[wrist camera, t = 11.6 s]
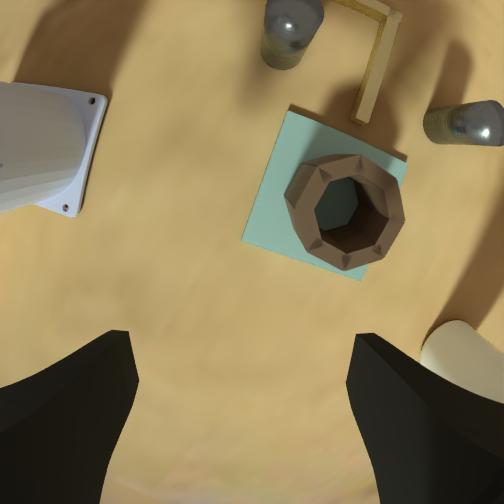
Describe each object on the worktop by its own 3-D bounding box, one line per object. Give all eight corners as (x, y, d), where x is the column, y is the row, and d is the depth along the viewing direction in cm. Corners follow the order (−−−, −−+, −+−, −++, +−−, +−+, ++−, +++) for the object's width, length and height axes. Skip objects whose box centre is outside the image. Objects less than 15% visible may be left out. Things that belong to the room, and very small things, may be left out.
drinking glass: (464, 292, 20) (592, 408, 6) (480, 343, 22) (573, 450, 8) (397, 345, 22) (493, 501, 7) (422, 389, 23) (495, 517, 9)
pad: (241, 238, 19) (240, 241, 19) (286, 111, 17) (287, 110, 16) (358, 278, 20) (360, 281, 19) (404, 163, 18) (408, 164, 17)
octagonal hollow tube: (299, 251, 19) (314, 281, 14) (275, 170, 17) (284, 175, 13) (376, 228, 18) (409, 249, 14) (357, 148, 17) (389, 147, 13)
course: (242, 79, 16) (239, 46, 10) (313, -76, 12) (328, -124, 6) (440, 167, 18) (499, 177, 12) (474, 8, 14) (520, -13, 8)
